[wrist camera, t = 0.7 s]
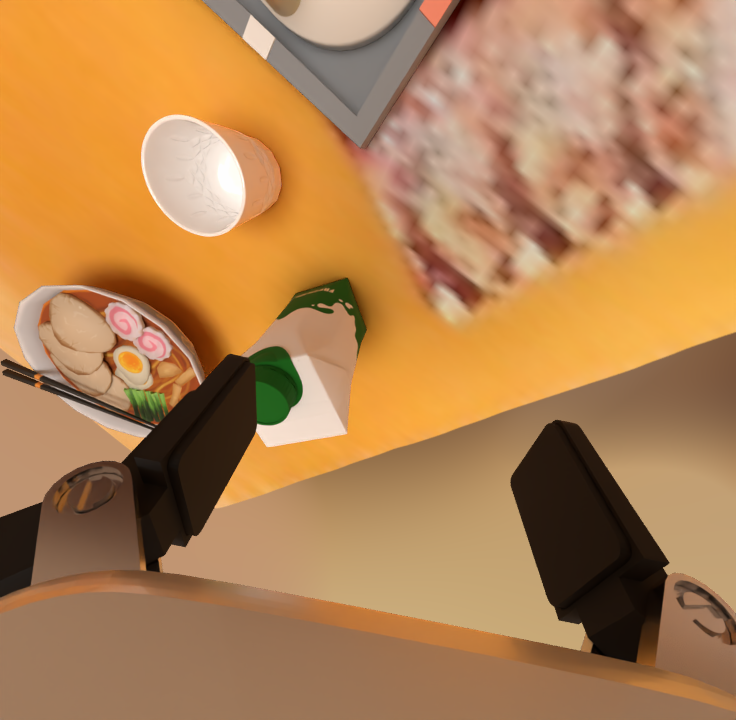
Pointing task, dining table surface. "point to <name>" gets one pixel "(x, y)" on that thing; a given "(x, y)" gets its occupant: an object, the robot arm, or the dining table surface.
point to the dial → (339, 20)
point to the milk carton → (308, 366)
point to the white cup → (208, 174)
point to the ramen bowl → (105, 355)
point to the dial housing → (343, 61)
